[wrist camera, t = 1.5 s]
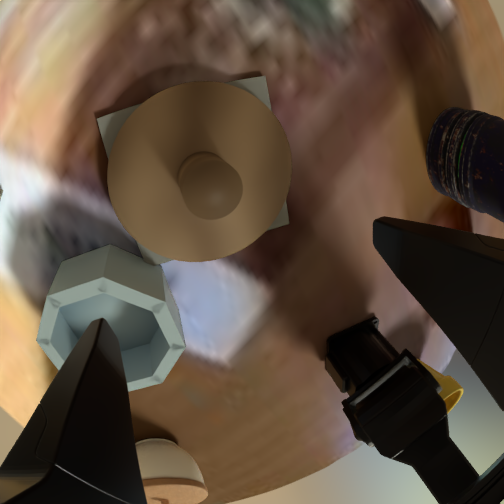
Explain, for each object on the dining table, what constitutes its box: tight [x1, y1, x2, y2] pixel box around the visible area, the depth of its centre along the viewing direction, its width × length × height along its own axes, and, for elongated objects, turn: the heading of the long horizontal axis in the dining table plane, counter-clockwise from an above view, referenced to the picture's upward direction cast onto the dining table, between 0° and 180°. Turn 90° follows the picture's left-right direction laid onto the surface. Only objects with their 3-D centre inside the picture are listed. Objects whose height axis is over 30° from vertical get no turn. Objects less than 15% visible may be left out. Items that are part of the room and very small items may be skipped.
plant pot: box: [417, 359, 463, 414], centre depth 39 cm, size 10×10×10 cm
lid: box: [107, 81, 292, 262], centre depth 18 cm, size 12×12×4 cm
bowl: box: [36, 244, 186, 391], centre depth 21 cm, size 10×10×4 cm
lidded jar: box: [135, 438, 208, 504], centre depth 29 cm, size 11×11×9 cm
